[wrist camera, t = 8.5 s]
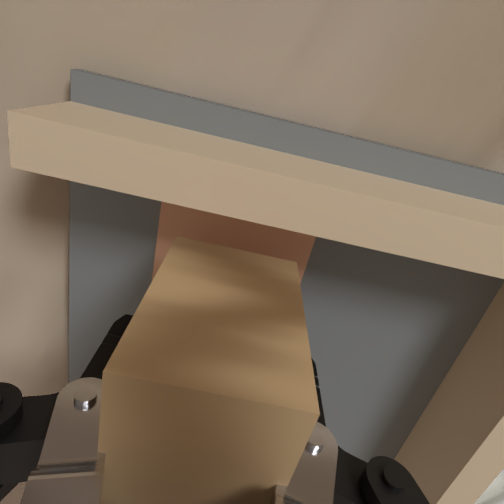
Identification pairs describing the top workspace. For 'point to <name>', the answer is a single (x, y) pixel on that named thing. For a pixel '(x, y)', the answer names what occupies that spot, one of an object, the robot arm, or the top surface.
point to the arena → (299, 257)
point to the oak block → (209, 382)
